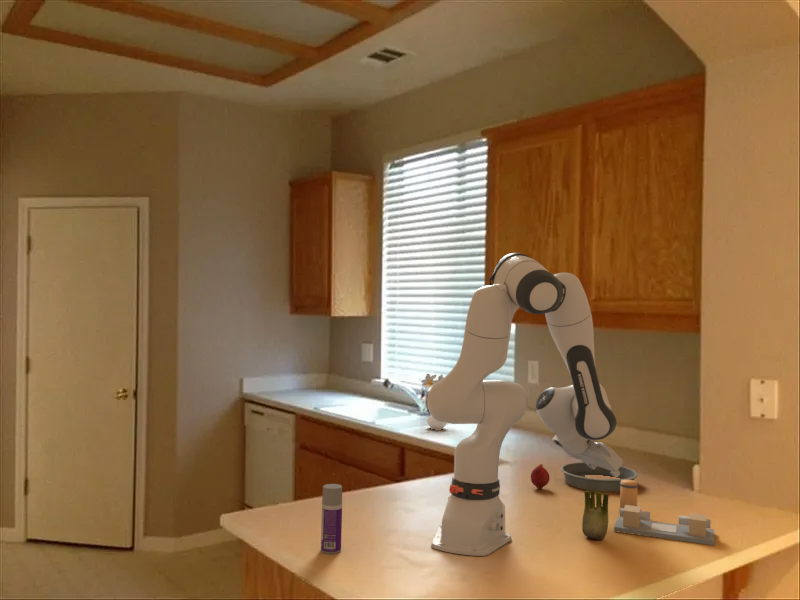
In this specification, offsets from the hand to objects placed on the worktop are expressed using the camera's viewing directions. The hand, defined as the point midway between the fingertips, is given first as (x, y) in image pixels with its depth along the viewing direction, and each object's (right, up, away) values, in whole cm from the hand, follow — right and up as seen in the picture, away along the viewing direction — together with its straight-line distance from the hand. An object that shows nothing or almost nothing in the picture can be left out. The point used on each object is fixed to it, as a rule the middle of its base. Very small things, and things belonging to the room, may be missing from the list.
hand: (605, 471), depth 199 cm
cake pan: (+9, -14, +40) cm, 43 cm away
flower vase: (-39, -12, +132) cm, 138 cm away
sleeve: (+8, -13, +6) cm, 16 cm away
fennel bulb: (-8, -13, -17) cm, 23 cm away
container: (-73, -11, -31) cm, 80 cm away
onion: (-12, -13, +30) cm, 35 cm away
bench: (+12, -13, -11) cm, 21 cm away
